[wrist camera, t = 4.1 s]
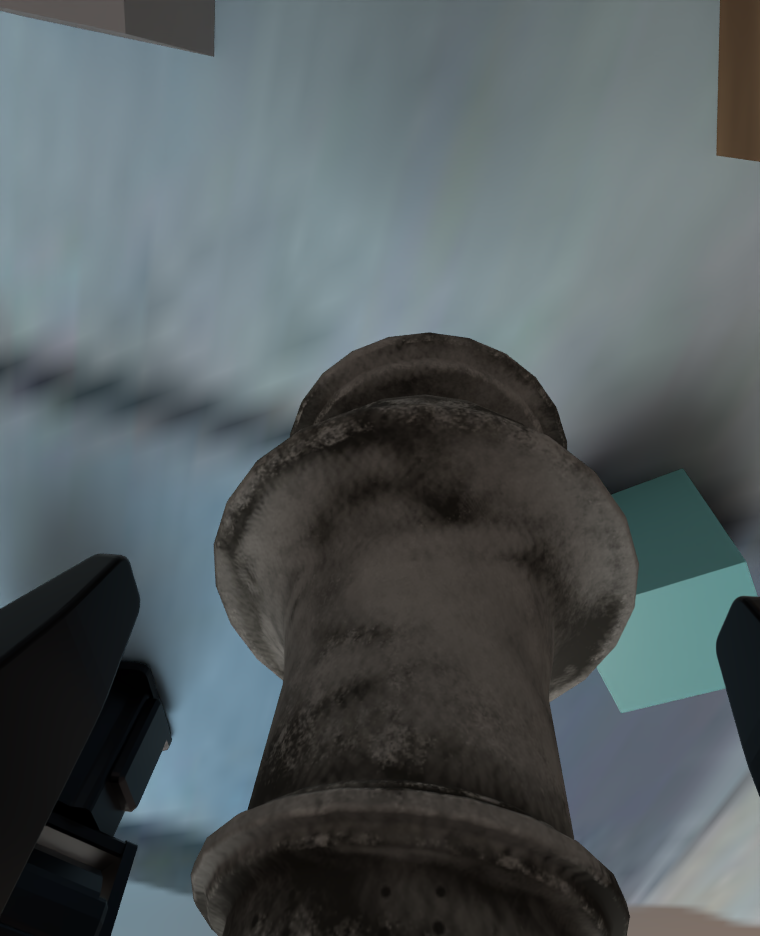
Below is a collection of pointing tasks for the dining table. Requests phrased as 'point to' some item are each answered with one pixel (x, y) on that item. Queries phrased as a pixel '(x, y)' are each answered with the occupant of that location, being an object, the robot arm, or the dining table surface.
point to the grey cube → (131, 19)
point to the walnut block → (739, 80)
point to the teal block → (674, 595)
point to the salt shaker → (418, 656)
